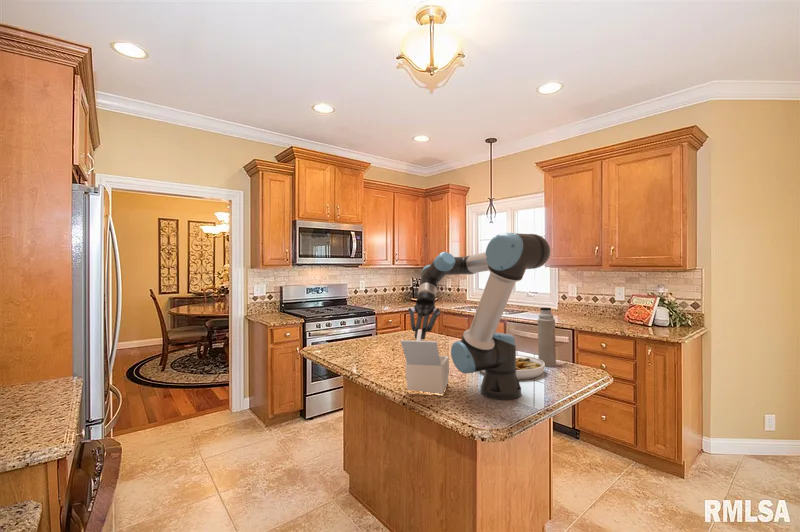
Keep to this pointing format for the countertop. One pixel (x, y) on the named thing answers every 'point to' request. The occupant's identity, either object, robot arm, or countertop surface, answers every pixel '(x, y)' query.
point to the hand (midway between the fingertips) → (418, 345)
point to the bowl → (528, 367)
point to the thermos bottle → (546, 338)
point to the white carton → (428, 376)
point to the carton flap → (421, 352)
